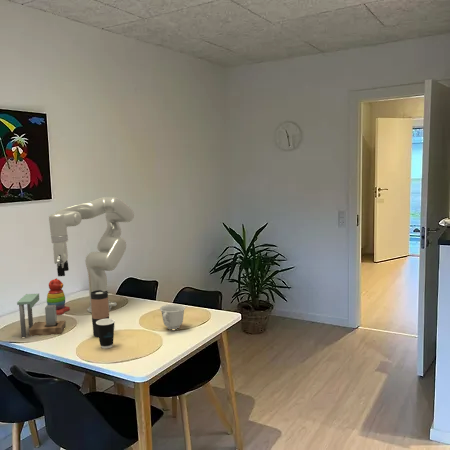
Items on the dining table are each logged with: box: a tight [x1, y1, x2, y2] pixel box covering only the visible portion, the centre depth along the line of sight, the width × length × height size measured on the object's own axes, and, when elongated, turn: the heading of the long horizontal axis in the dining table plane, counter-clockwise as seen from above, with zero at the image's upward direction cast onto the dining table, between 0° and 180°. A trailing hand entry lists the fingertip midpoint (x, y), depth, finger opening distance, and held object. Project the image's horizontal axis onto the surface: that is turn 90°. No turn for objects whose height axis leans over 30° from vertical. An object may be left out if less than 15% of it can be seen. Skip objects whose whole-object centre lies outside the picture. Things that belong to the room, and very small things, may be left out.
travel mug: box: [91, 290, 110, 338], centre depth 212 cm, size 8×8×20 cm
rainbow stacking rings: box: [46, 278, 71, 316], centre depth 249 cm, size 11×10×18 cm
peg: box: [44, 304, 58, 327], centre depth 220 cm, size 4×4×12 cm
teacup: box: [159, 303, 186, 330], centre depth 218 cm, size 12×15×10 cm
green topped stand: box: [16, 293, 40, 338], centre depth 218 cm, size 6×14×17 cm, turn 8°
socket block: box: [28, 320, 67, 337], centre depth 220 cm, size 14×10×3 cm
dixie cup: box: [96, 318, 116, 349], centre depth 199 cm, size 8×8×11 cm
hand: (63, 273), depth 228 cm, fingers open, 9 cm apart
